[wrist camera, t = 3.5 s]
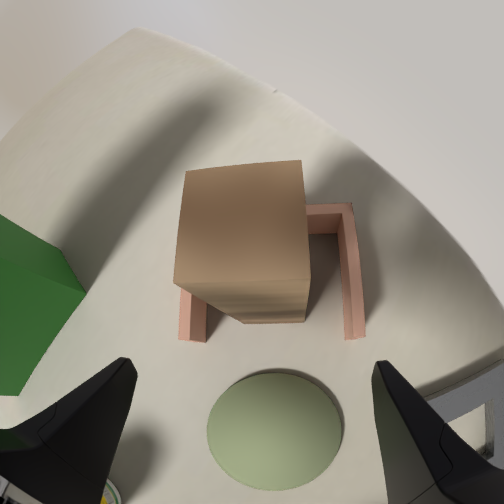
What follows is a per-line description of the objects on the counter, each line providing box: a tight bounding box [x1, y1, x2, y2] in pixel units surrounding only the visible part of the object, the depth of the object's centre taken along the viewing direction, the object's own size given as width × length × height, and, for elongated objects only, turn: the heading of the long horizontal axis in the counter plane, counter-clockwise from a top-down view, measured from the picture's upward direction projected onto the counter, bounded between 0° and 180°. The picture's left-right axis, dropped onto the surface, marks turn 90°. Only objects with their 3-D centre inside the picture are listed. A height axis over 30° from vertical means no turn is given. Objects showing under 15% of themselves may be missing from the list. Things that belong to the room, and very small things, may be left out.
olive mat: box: [207, 373, 341, 491], centre depth 18 cm, size 10×10×1 cm
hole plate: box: [424, 359, 504, 469], centre depth 14 cm, size 11×11×2 cm
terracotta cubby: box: [178, 203, 366, 343], centre depth 21 cm, size 9×12×4 cm
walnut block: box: [173, 160, 311, 324], centre depth 16 cm, size 4×4×13 cm
